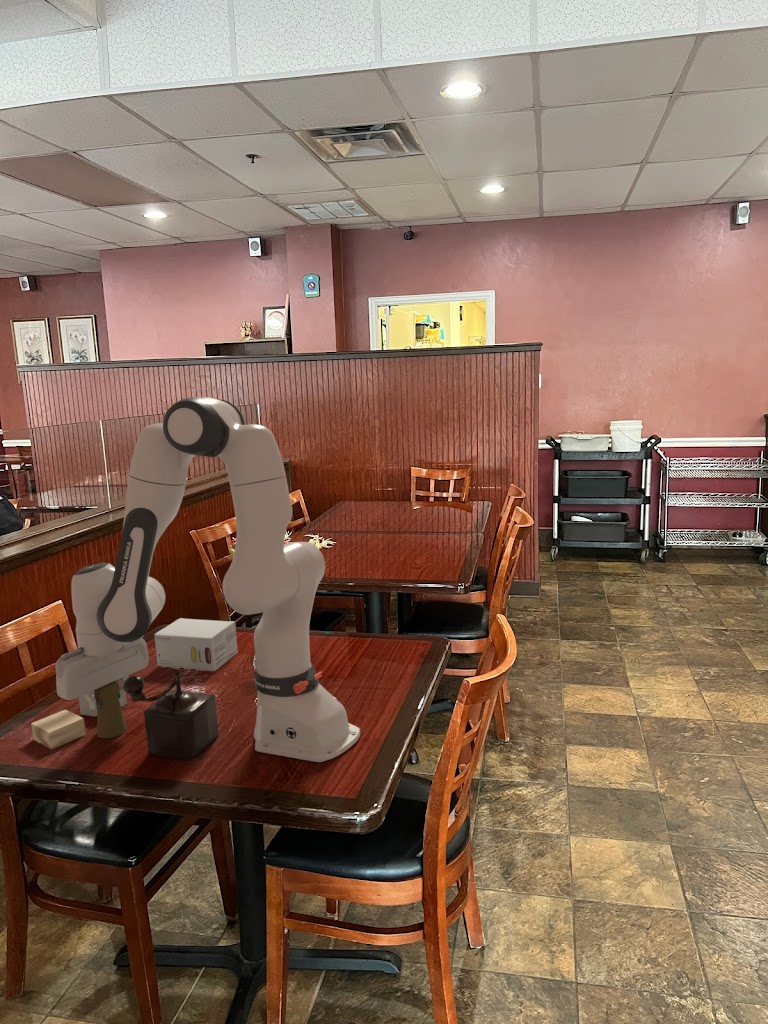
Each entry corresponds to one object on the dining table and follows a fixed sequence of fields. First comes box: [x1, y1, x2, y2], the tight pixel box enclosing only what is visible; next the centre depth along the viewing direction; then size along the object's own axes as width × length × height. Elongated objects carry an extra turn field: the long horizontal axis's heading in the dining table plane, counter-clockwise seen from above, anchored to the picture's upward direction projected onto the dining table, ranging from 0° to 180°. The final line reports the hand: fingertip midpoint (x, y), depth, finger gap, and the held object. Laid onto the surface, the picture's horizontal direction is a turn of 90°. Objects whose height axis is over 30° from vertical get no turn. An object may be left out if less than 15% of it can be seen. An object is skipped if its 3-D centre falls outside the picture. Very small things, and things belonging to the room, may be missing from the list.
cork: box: [94, 681, 128, 739], centre depth 152 cm, size 6×6×11 cm
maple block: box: [30, 709, 87, 750], centre depth 151 cm, size 8×8×4 cm
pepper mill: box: [123, 668, 220, 761], centre depth 142 cm, size 16×11×18 cm
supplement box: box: [153, 617, 239, 672], centre depth 190 cm, size 17×13×9 cm
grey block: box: [78, 695, 128, 717], centre depth 164 cm, size 7×7×5 cm
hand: (108, 702), depth 152 cm, fingers closed on cork, 5 cm apart
